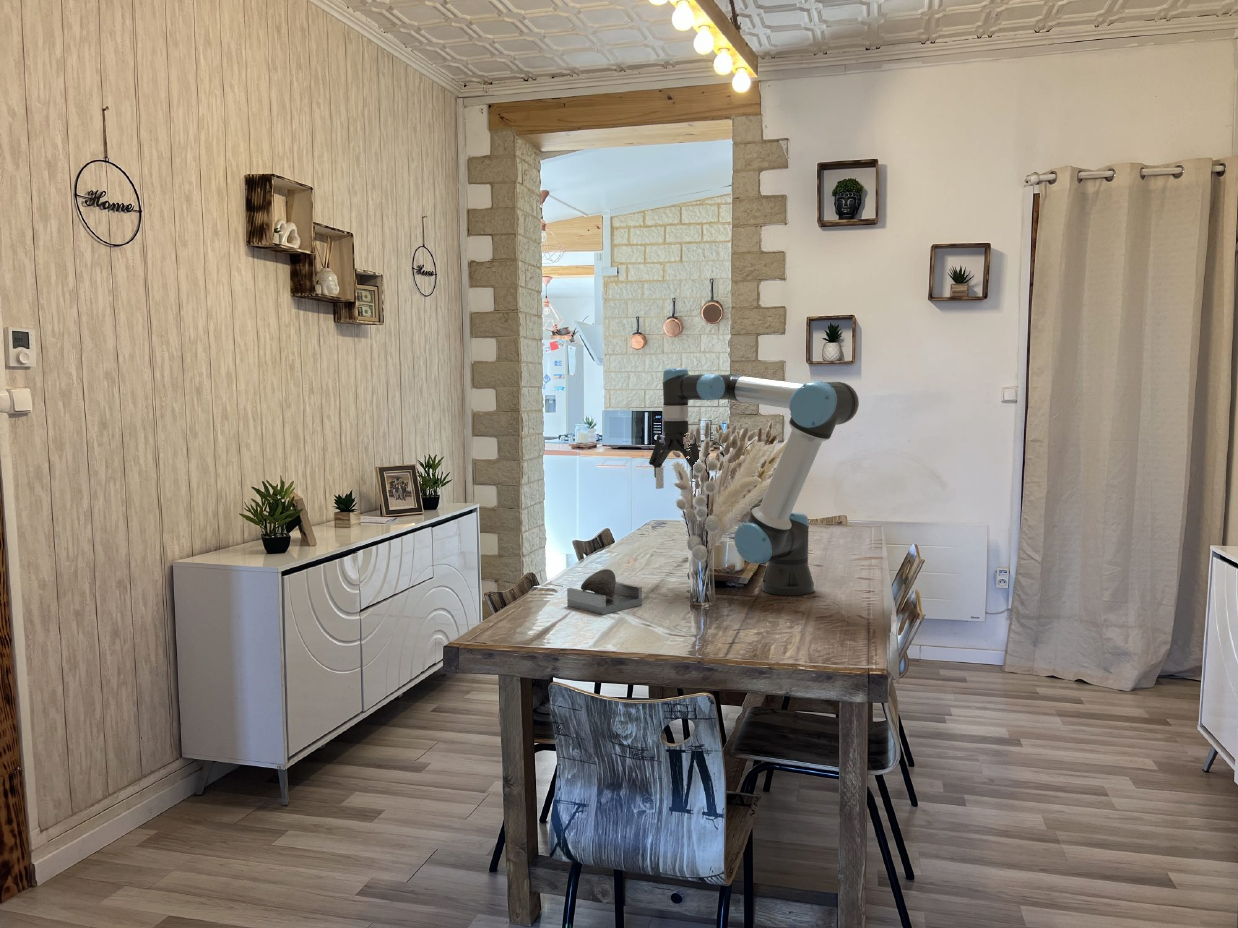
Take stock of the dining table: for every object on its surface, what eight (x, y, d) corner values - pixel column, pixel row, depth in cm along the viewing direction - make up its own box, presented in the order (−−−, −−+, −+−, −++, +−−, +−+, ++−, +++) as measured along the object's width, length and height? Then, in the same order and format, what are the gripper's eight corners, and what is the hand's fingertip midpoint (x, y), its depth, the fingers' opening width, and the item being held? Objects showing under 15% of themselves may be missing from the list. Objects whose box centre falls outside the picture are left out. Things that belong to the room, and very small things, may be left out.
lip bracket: (641, 604, 248) (641, 587, 248) (602, 614, 238) (602, 596, 237) (606, 596, 258) (606, 579, 258) (567, 606, 248) (567, 588, 247)
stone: (591, 607, 241) (623, 589, 242) (576, 579, 243) (608, 561, 244) (593, 612, 250) (625, 594, 251) (579, 585, 253) (610, 568, 254)
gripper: (716, 420, 264) (716, 491, 266) (653, 418, 282) (654, 486, 284) (699, 421, 259) (700, 494, 261) (637, 419, 277) (638, 488, 278)
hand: (676, 490), depth 272 cm, fingers open, 13 cm apart
